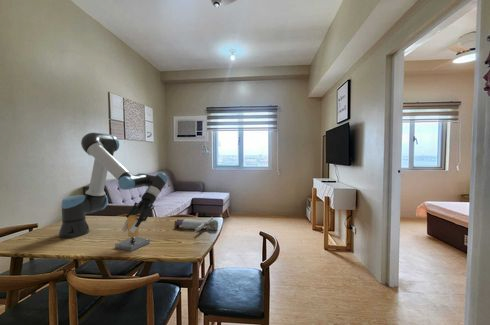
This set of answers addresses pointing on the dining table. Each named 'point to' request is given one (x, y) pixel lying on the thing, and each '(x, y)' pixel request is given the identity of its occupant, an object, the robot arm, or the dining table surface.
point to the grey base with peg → (132, 243)
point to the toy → (197, 224)
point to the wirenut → (131, 221)
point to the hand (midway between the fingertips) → (127, 231)
